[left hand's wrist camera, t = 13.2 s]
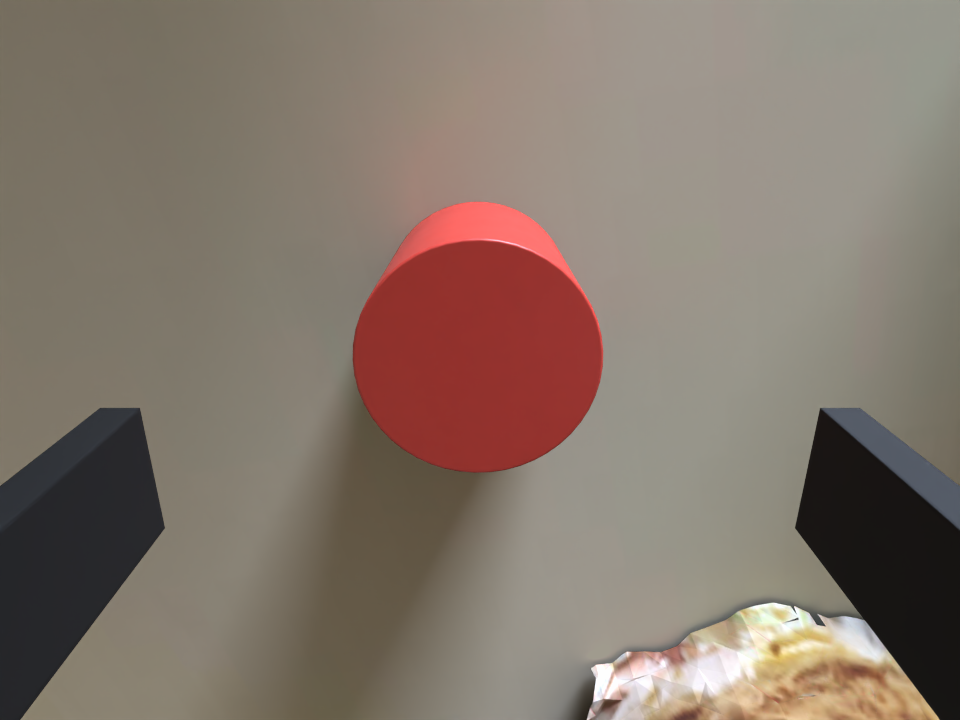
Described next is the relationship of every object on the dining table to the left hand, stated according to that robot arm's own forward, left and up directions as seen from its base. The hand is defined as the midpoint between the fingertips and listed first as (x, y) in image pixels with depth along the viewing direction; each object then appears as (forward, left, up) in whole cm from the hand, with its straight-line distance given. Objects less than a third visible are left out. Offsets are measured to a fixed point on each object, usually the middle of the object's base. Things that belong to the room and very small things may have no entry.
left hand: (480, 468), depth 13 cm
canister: (0, 0, -14) cm, 14 cm away
